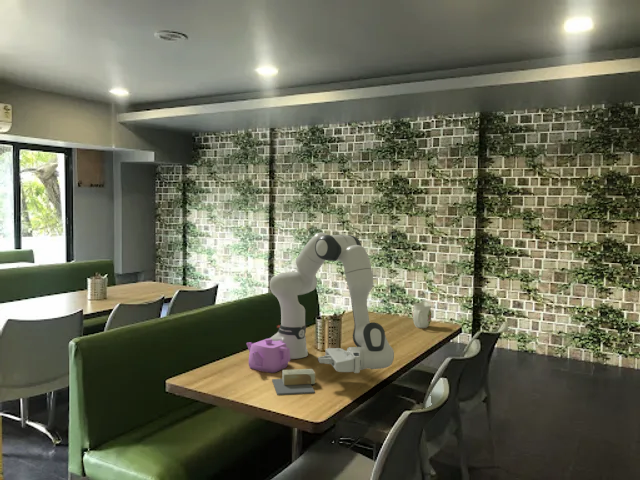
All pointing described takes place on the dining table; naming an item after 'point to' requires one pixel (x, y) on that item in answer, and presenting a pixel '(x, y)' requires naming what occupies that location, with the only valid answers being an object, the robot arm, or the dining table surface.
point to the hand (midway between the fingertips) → (318, 359)
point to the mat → (291, 388)
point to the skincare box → (298, 376)
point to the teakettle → (268, 355)
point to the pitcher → (421, 314)
